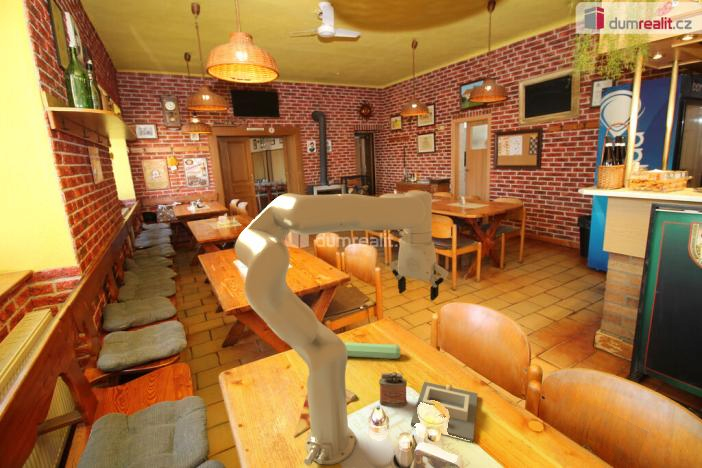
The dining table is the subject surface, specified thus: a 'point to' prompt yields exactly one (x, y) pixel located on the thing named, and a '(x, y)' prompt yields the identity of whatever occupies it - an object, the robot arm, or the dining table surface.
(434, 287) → the robot arm
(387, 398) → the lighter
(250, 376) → the dining table surface
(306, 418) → the pizza slice
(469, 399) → the holder
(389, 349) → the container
